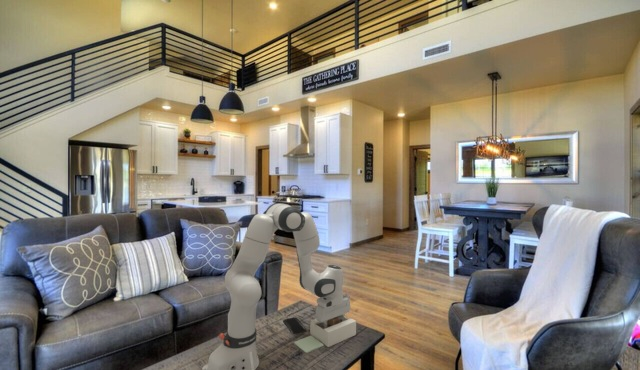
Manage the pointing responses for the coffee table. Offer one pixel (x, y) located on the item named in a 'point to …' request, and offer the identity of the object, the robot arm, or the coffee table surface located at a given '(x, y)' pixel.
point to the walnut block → (333, 321)
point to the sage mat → (308, 344)
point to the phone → (294, 325)
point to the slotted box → (333, 331)
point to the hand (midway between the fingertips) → (333, 325)
